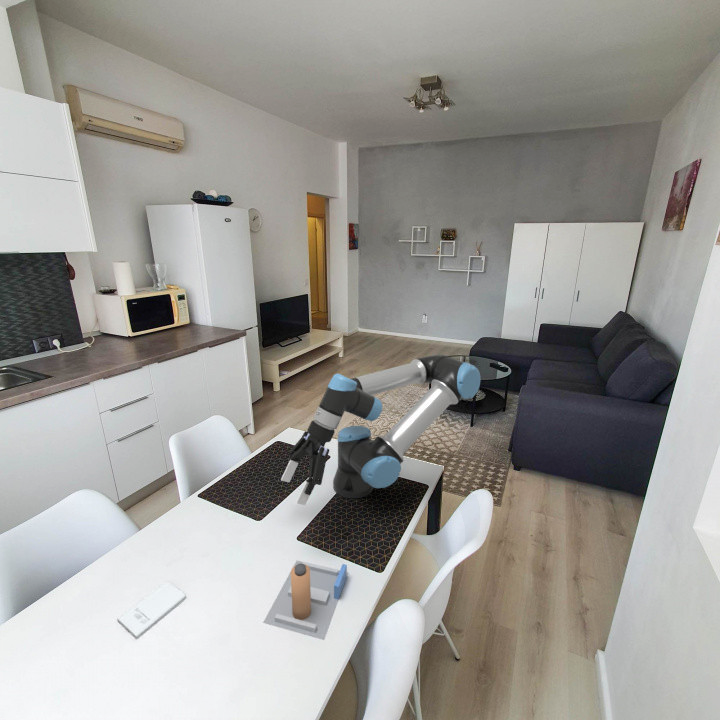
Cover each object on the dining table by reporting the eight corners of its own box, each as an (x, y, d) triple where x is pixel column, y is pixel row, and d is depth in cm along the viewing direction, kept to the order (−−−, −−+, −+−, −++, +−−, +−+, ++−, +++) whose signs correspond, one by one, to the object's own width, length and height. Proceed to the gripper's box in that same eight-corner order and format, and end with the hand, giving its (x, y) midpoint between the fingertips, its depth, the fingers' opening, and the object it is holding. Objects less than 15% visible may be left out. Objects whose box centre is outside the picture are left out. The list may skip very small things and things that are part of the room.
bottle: (306, 600, 94) (305, 557, 90) (313, 614, 90) (312, 571, 87) (289, 608, 92) (287, 565, 88) (296, 623, 88) (294, 578, 85)
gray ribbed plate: (263, 626, 89) (262, 609, 87) (296, 563, 106) (296, 548, 105) (324, 643, 85) (323, 626, 84) (348, 576, 103) (348, 560, 101)
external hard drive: (186, 599, 96) (137, 641, 85) (167, 585, 100) (117, 622, 90) (186, 594, 95) (136, 635, 85) (166, 580, 99) (116, 617, 89)
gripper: (298, 408, 120) (269, 470, 119) (331, 436, 99) (295, 511, 98) (318, 415, 124) (289, 475, 123) (353, 444, 102) (319, 517, 101)
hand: (292, 491), depth 110 cm, fingers open, 13 cm apart
